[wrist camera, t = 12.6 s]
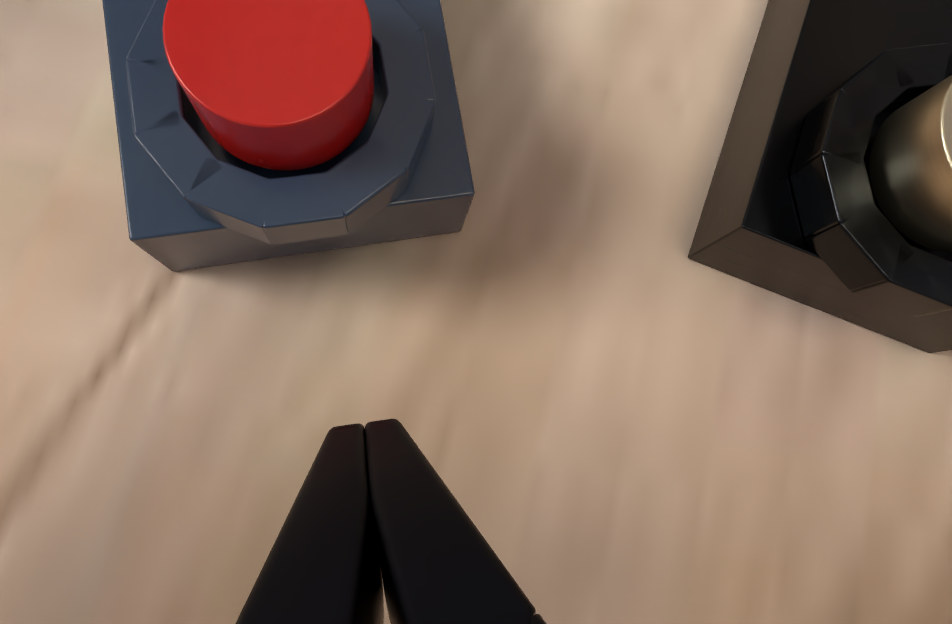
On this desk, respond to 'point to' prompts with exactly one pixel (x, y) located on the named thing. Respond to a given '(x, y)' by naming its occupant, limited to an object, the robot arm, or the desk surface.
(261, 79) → the button
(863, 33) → the light box
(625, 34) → the desk surface
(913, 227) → the light button
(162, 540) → the desk surface
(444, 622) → the robot arm
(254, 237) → the box
